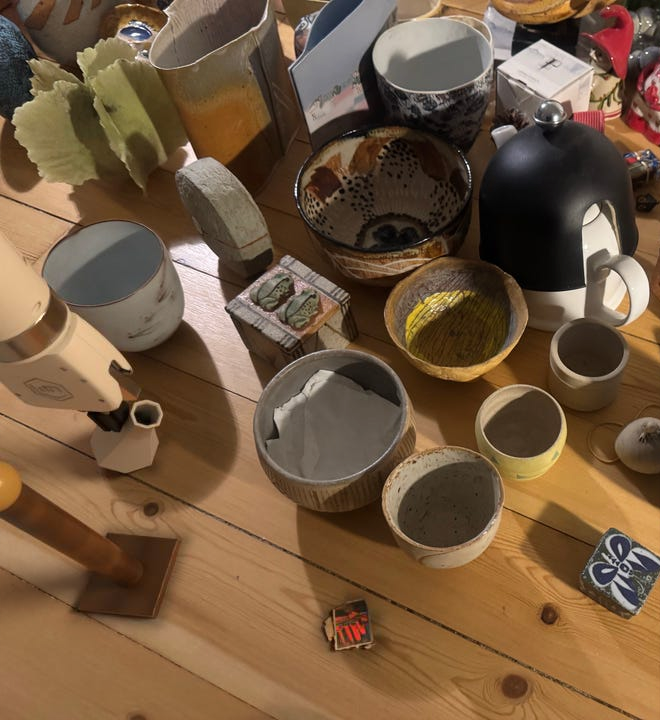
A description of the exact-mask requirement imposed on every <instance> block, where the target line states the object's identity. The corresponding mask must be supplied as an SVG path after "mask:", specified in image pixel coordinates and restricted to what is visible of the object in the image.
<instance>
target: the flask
mask: <svg viewBox="0 0 660 720" xmlns="http://www.w3.org/2000/svg"><path fill="white" fill-rule="evenodd" d="M163 416H164V413H163V411H162V407H161V405H160V403H158V402H155V401H152V400H149V399H144V400H139V401H135V402H133V404H132V407H131V409H130V411H129V416H128V419H127V421H126V422H124V425H123V427H122V429H121V432H119V433H118V432H113V431H110V432H105V431H103V430H102V429H101V428H100V427H99V426H98V425H97V424H95V428H94V430H93V432H92V435H91V438H90V440H89V444H90V447H91V450H92V453H93V455H94V458H95V460H96V464H97V466H98V467H102V468H104V469H109V470H111V471H116V472H120V473H122V474H128V473H131V472H134V471H137V470H140V469H144V468H146V467H150V466H152V465H153V461H154V458H155V455H156V454H157V453H156V452H157V450H158V447H159V444H160V441H159V438H158V436H157V433H156V428H157V427H159V426H160V425H161V423H162V419H163Z"/></svg>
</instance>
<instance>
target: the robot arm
mask: <svg viewBox="0 0 660 720" xmlns="http://www.w3.org/2000/svg"><path fill="white" fill-rule="evenodd" d="M133 374H134V370H133V368H132V366H131V365H130V363H129V361H128V360H127V359H126V358H125V357H124V356H123V354H122V353H121V352H120V351H119V350H118V348H116V347H115V345H113V344H112V343H111V342H110V341H109V340H108V339H107V338H106V337H105V336H104V335H103V334H102V333H100V332H99V331H98V330H97V329H96V328H94V326H92V325H91V323H89V322H87V321H86V320H85V319H84V318H82V317H81V316H80V315H78V314H77V313H76V312H73V311H70V308H69V306H68V304H67V303H66V302H65V301H64V300H63V299H62V298H61V296H60V295H59V294H58V293H57V292H56V291H55V290H54V289H53V288H52V287H51V285H50V284H49V283H48V281H46V280H45V279H44V277H42V275H41V274H40V273H39V271H37V270H36V268H35V267H34V266H33V265H32V263H30V261H29V260H28V259H27V258H26V257H25V256H24V254H23V253H21V251H20V250H19V249H18V248H17V247H16V245H15V244H14V243H13V242H12V241H11V240H10V239H9V238H8V237H7V235H6V234H5V233H4V232H3V231H2V229H0V383H1V384H2V385H3V386H4V387H5V388H6V389H7V390H9V392H11V393H12V394H13V395H14V396H15V397H16V398H17V399H18V400H19V401H21V402H22V403H24V404H26V405H28V406H32V407H36V408H44V409H55V410H57V409H58V410H68V411H69V410H70V411H77V412H78V413H82V414H84V413H86V416H87V418H89V419H90V420H91V421H92V422H93V423H94V424H95V425H98V426H99V427H100V428H101V429H102V430H103V431H105V432H110V431H113V432H118V433H119V432H121V429H122V427H123V425H124V422H126V421H127V419H128V416H129V412H130V411H131V409H130V408H131V407H130V404H128V402H131V401H137V400H138V399H139V396H140V393H141V392H142V387H141V386H139V385H138V384H136V383H135V382H134V381H133V380H132V379H130V378H129V377H128V376H132V375H133Z"/></svg>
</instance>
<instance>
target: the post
mask: <svg viewBox="0 0 660 720" xmlns="http://www.w3.org/2000/svg"><path fill="white" fill-rule="evenodd" d="M0 519H1V520H3V521H4V522H7V523H8V524H10V525H11V526H14V528H17V530H18V529H19V530H20V531H22V532H24V533H25V534H28V535H29V536H30V537H32V538H33V539H36V540H38V541H40V542H41V543H43V544H45V545H46V546H49V547H50V548H51V549H54V550H55V551H57V552H59V553H61V554H63V555H64V556H66V557H67V558H70V559H71V560H73V561H74V562H76V563H78V564H80V565H82V566H83V567H85V568H87V569H89V570H90V571H91V572H90V573H91V574H90V576H89V579H88V581H87V584H86V586H85V590H84V592H83V594H82V597H81V599H80V601H79V604H78V606H77V609H78V610H80V611H83V612H89V613H101V614H111V615H122V616H131V617H140V618H150V619H157V618H158V616H159V612H160V610H161V609H160V608H161V606H162V602H163V600H164V598H165V597H164V596H165V593H166V591H167V587H168V584H169V581H170V578H171V575H172V572H173V569H174V566H175V563H176V560H177V557H178V553H179V550H180V547H181V545H182V541H181V540H180V539H179V538H172V537H171V538H170V537H160V536H150V535H149V536H148V535H137V534H127V533H116V532H107V533H106V535H105V536H104V535H102V534H101V533H100V532H98V531H96V530H95V529H93V528H92V527H90V526H89V525H88V524H86V523H84V522H83V521H81V520H80V519H78V518H77V517H76V516H74V515H73V514H71V513H69V512H68V511H67V510H65V509H63V508H62V507H61V506H59V505H58V504H56V503H54V501H52V500H50V499H48V498H47V497H46V496H44V495H42V493H40V492H38V491H37V490H36V489H33V488H32V487H31V486H29V485H28V484H26V483H24V482H23V481H22V478H21V475H20V474H19V472H18V471H17V469H16V468H14V467H13V466H12V465H10V464H9V463H7V462H4V461H0Z"/></svg>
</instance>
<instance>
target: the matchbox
mask: <svg viewBox="0 0 660 720" xmlns="http://www.w3.org/2000/svg"><path fill="white" fill-rule="evenodd" d="M370 611H371V610H370V609H369V606H368V604H367V602H366V600H365V598H359V599H354V600H349V601H347V602H344V603H342V604H341V605H339V606H337V607H336V608H334V609H332V616H329V617H328V618H327V619H326V620H325V621H324V623H325V625H323V627H324V630H325V633H326V637H327V638H328V641H330V642H331V641H332V640H333V639H334V649H335V651H341V650H344V649H345V650H346V649H348V650H349V649H350V648H356V649H359V647H360V646H362V645H365V646H364V649H366V650H368V649H371V648H372V647H374V646H375V645H377V643H376V642H374V643H373V640H374V635H373V632H372V631H373V628H372V623H371V622H372V618H371V612H370Z"/></svg>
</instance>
